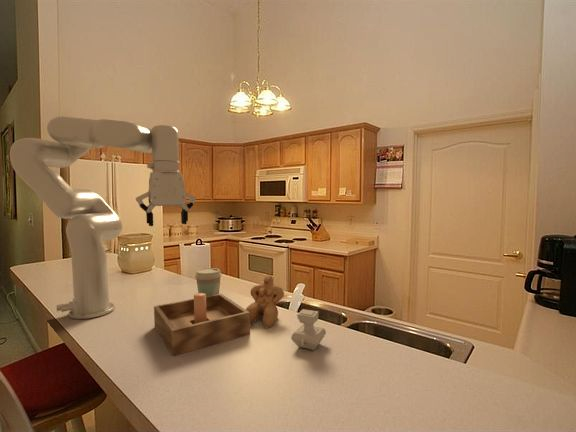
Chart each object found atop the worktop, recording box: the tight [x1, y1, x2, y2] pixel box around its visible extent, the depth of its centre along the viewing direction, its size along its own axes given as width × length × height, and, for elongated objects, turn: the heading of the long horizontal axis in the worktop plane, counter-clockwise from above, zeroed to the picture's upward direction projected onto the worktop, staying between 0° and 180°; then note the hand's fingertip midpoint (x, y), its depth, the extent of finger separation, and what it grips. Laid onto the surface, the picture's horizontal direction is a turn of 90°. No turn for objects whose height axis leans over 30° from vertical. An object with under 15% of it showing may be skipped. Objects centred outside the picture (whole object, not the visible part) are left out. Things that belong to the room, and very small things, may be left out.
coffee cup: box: [195, 267, 222, 296], centre depth 108 cm, size 9×8×12 cm
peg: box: [193, 293, 207, 324], centre depth 88 cm, size 3×3×10 cm
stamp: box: [290, 308, 327, 351], centre depth 79 cm, size 9×7×8 cm
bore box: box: [153, 293, 251, 357], centre depth 88 cm, size 20×20×6 cm
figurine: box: [245, 274, 285, 329], centre depth 96 cm, size 11×9×15 cm
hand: (167, 224), depth 97 cm, fingers open, 9 cm apart
